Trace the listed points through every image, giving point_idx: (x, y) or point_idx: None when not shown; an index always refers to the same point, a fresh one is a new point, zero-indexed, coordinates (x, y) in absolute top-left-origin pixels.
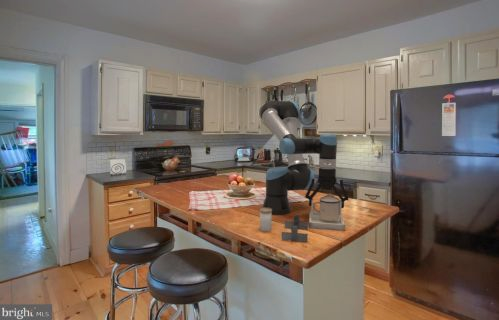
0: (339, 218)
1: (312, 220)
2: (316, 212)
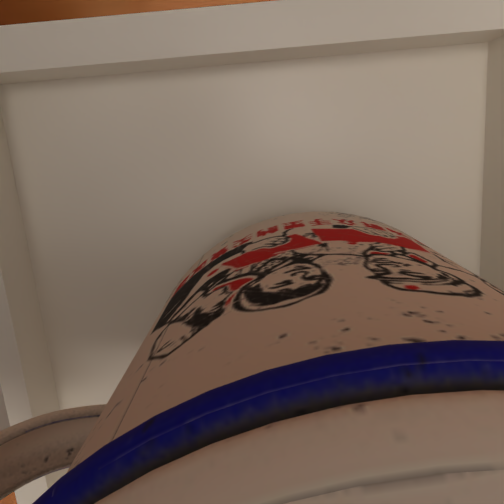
0: (488, 193)
1: (69, 384)
2: (60, 67)
